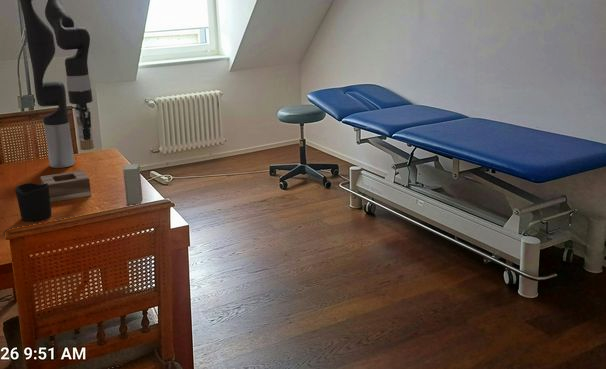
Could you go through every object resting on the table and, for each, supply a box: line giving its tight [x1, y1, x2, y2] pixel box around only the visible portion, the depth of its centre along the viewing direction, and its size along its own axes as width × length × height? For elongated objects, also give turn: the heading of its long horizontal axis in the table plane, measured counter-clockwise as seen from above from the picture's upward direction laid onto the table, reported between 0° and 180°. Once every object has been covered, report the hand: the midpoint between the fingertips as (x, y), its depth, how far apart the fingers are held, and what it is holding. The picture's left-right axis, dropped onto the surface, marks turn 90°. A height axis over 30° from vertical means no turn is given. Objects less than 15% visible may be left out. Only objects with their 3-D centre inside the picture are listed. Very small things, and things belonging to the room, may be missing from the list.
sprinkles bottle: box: [74, 111, 95, 151], centre depth 217 cm, size 5×5×13 cm
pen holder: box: [14, 182, 52, 223], centre depth 194 cm, size 9×9×10 cm
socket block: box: [39, 170, 92, 203], centre depth 216 cm, size 12×14×6 cm
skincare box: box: [122, 163, 143, 206], centre depth 206 cm, size 6×4×12 cm
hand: (85, 138), depth 217 cm, fingers closed on sprinkles bottle, 4 cm apart
